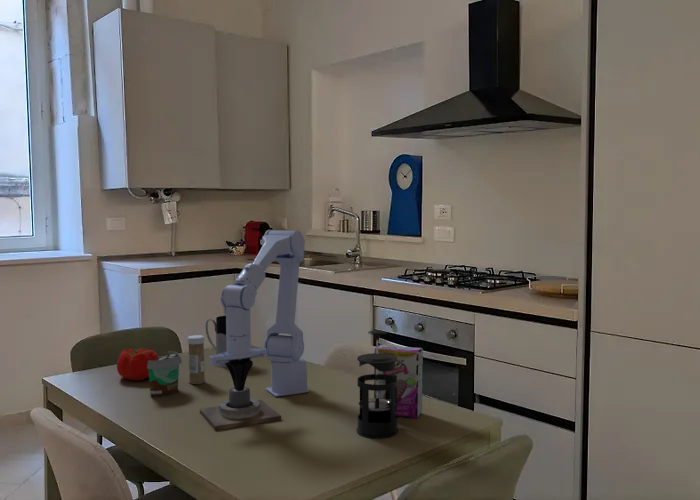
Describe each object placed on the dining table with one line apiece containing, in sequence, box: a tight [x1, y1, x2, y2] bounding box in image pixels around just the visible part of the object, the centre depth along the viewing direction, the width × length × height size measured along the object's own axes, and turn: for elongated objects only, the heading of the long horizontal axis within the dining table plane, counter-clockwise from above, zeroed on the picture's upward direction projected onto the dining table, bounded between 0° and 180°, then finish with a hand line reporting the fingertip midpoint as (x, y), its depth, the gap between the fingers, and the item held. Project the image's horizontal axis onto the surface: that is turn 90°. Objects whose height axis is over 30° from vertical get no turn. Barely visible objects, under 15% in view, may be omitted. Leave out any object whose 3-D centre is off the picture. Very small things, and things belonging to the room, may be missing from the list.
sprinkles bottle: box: [187, 334, 206, 385], centre depth 188 cm, size 5×5×14 cm
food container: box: [147, 350, 183, 398], centre depth 179 cm, size 12×6×10 cm, turn 168°
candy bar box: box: [373, 344, 424, 419], centre depth 160 cm, size 11×5×16 cm, turn 71°
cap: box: [228, 386, 251, 408], centre depth 159 cm, size 5×5×6 cm
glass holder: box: [205, 315, 227, 368], centre depth 211 cm, size 9×14×15 cm, turn 57°
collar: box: [199, 398, 282, 431], centre depth 159 cm, size 16×14×3 cm
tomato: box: [116, 347, 160, 382], centre depth 194 cm, size 13×12×8 cm
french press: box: [356, 329, 399, 439], centre depth 148 cm, size 12×9×23 cm
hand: (239, 390), depth 159 cm, fingers closed, pressing on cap
